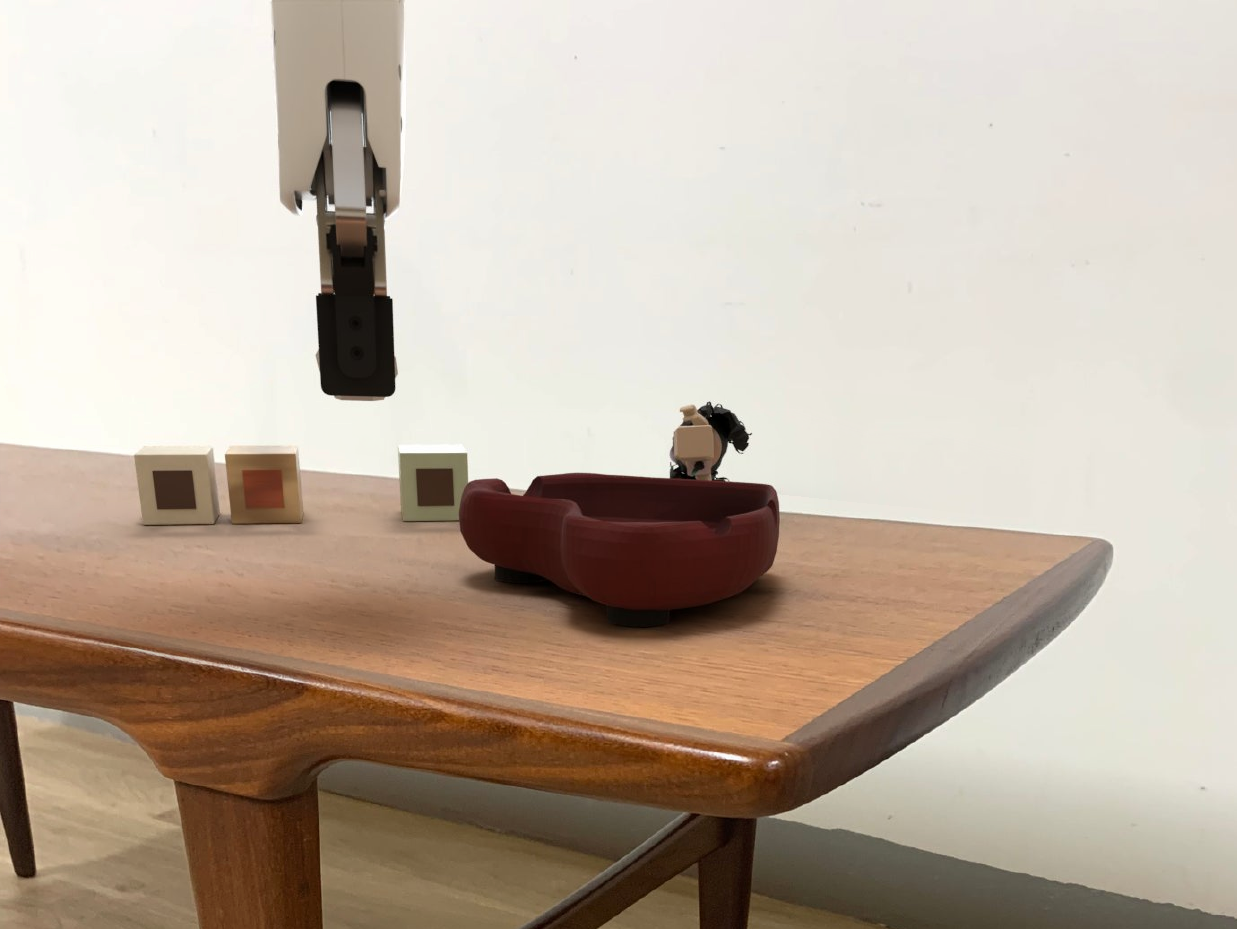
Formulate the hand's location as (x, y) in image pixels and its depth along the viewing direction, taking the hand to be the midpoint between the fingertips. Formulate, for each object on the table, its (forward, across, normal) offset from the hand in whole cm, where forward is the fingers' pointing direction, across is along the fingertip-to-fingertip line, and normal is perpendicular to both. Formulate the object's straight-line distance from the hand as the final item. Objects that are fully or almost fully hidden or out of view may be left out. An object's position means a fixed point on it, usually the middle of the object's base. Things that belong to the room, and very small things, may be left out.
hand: (358, 386), depth 60 cm
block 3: (+11, -28, +5) cm, 31 cm away
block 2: (+11, -28, -6) cm, 31 cm away
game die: (+1, 0, 0) cm, 1 cm away
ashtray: (+10, -4, +15) cm, 18 cm away
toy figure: (+7, -32, +22) cm, 40 cm away
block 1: (+11, -28, -12) cm, 33 cm away
